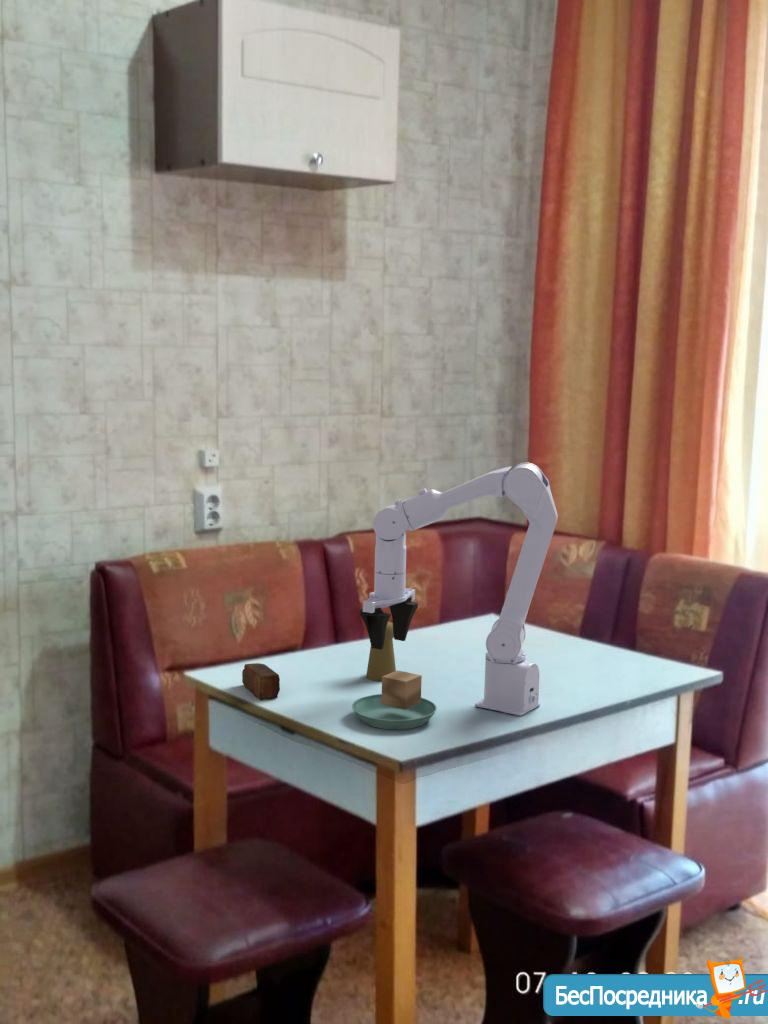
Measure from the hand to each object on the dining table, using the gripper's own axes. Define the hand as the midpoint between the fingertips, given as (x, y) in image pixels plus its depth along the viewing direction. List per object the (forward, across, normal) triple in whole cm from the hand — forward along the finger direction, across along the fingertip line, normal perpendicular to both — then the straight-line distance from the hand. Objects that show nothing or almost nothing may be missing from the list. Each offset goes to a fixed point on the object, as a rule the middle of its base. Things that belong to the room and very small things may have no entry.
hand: (388, 644), depth 218 cm
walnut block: (+8, +8, +8) cm, 14 cm away
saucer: (+10, +10, +8) cm, 17 cm away
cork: (+10, -10, -8) cm, 16 cm away
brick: (+10, +12, -20) cm, 26 cm away
